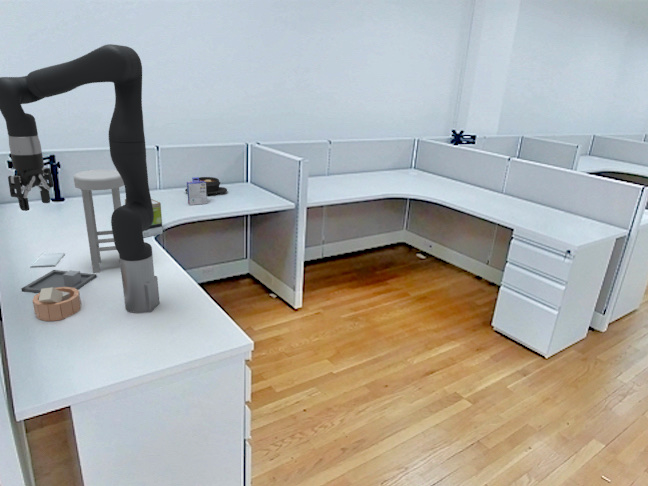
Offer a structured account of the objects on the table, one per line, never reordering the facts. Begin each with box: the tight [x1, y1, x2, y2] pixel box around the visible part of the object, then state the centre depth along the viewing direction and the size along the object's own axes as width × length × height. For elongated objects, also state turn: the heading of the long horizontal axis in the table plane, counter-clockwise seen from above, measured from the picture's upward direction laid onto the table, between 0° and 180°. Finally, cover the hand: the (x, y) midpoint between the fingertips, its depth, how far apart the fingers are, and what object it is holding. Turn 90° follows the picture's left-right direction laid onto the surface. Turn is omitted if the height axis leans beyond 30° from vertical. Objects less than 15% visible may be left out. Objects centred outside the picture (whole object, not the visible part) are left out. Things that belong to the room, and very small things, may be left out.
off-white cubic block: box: [38, 287, 63, 303], centre depth 131 cm, size 4×4×4 cm
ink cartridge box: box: [186, 177, 208, 206], centre depth 249 cm, size 10×6×14 cm, turn 118°
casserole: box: [184, 176, 228, 196], centre depth 273 cm, size 25×19×8 cm
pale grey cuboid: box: [61, 291, 71, 302], centre depth 135 cm, size 4×4×4 cm
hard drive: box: [29, 252, 66, 269], centre depth 169 cm, size 2×8×12 cm
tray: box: [20, 269, 98, 294], centre depth 152 cm, size 16×15×1 cm
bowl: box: [32, 287, 82, 322], centre depth 135 cm, size 12×12×5 cm
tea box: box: [124, 198, 163, 238], centre depth 202 cm, size 15×10×15 cm, turn 47°
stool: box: [73, 169, 125, 274], centre depth 162 cm, size 16×16×35 cm
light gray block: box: [63, 270, 82, 288], centre depth 150 cm, size 4×4×4 cm
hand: (36, 206), depth 133 cm, fingers open, 8 cm apart
